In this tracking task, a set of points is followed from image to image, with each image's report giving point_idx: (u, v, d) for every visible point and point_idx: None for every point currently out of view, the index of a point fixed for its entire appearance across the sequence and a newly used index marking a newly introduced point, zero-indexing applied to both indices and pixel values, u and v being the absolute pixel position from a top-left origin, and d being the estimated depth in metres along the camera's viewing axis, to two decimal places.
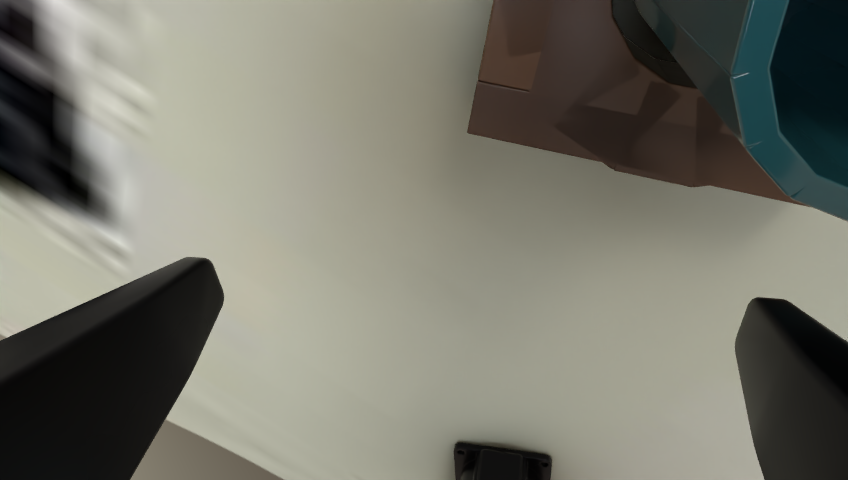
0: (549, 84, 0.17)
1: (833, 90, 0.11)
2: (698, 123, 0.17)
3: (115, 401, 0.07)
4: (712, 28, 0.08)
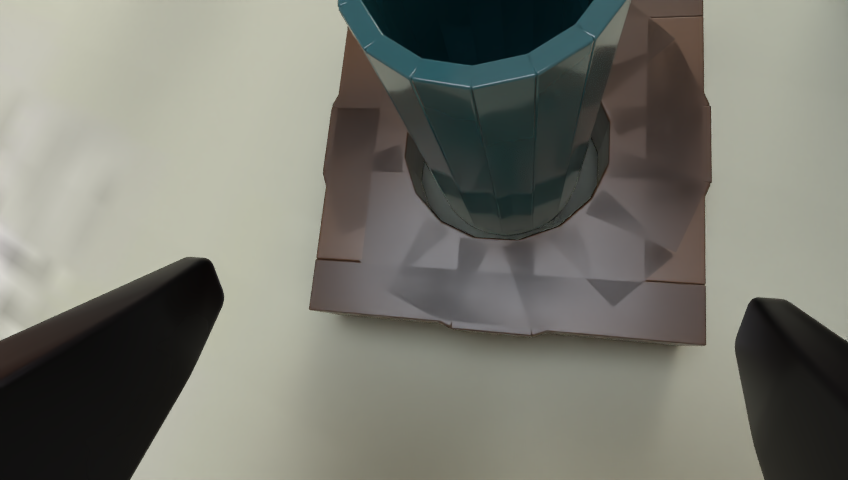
0: (376, 252, 0.19)
1: None
2: (512, 269, 0.18)
3: (115, 401, 0.07)
4: None
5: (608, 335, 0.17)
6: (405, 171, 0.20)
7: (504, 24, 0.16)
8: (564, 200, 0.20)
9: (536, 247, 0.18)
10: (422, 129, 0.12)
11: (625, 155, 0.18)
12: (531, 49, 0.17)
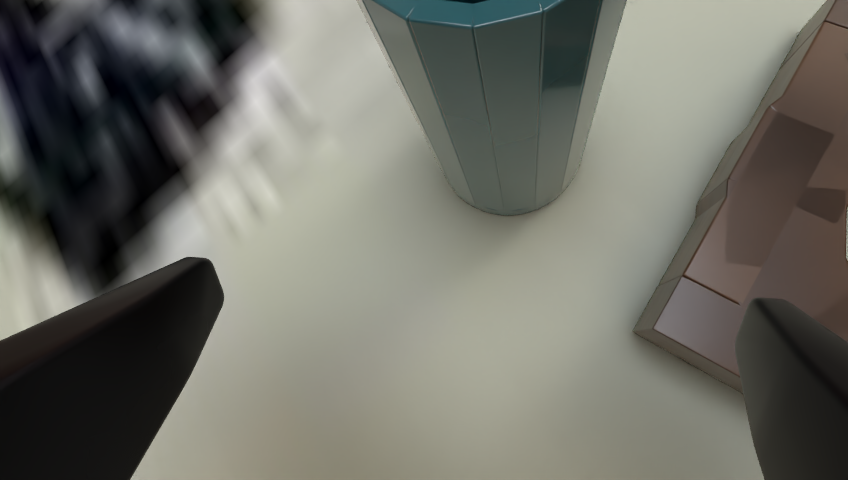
0: None
1: None
2: None
3: (115, 401, 0.07)
4: None
5: None
6: (841, 226, 0.16)
7: None
8: (568, 178, 0.19)
9: None
10: (420, 87, 0.12)
11: None
12: None
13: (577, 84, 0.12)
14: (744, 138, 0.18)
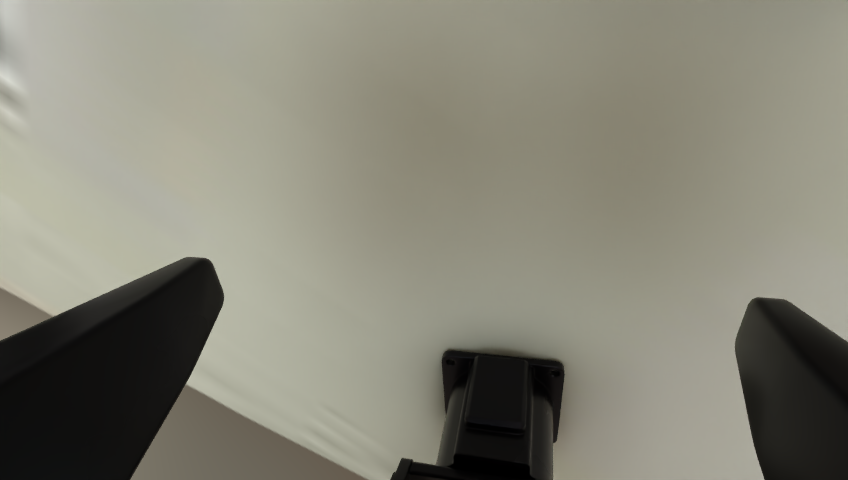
0: None
1: None
2: None
3: (115, 401, 0.07)
4: None
5: None
6: None
7: None
8: None
9: None
10: None
11: None
12: None
13: None
14: None
